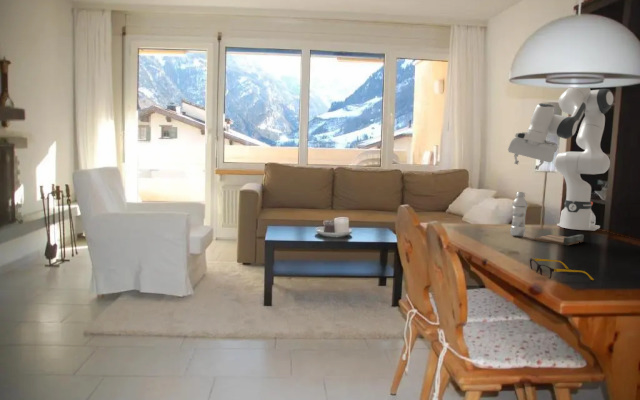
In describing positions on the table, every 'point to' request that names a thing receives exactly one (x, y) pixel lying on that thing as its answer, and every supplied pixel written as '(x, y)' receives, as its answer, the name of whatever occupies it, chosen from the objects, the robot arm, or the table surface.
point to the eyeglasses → (554, 269)
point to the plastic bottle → (519, 215)
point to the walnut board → (561, 239)
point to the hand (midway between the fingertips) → (526, 166)
